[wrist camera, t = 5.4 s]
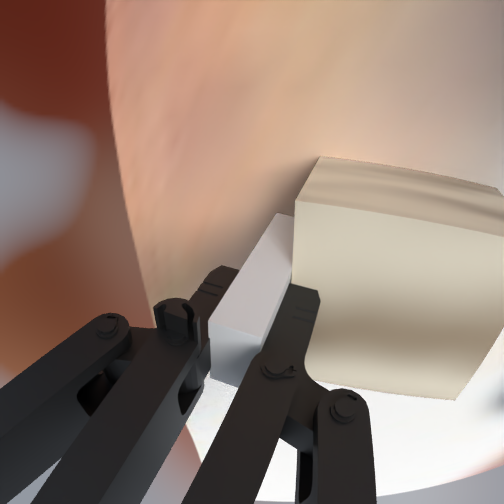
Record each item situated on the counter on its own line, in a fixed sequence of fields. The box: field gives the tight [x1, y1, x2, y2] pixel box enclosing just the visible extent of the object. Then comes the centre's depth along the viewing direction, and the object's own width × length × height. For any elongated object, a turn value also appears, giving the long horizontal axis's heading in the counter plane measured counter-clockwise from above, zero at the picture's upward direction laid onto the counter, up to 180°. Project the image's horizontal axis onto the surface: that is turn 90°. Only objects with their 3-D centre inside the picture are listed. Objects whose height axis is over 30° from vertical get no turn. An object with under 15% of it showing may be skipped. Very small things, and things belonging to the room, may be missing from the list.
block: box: [291, 156, 504, 400], centre depth 12 cm, size 8×8×5 cm
